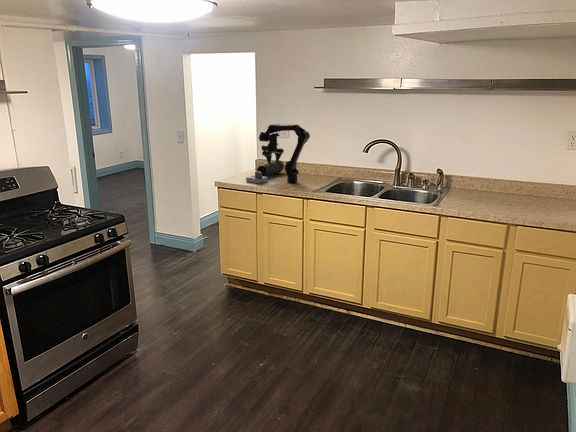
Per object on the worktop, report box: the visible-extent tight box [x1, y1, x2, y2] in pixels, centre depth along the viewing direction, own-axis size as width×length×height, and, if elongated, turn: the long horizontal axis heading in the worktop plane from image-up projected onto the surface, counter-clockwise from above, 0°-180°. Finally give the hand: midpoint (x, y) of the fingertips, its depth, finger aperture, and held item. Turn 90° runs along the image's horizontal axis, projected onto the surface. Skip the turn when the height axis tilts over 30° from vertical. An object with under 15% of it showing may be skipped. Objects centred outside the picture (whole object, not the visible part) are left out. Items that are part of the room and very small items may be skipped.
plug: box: [254, 170, 262, 178], centre depth 342 cm, size 4×3×7 cm, turn 54°
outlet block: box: [245, 174, 269, 185], centre depth 344 cm, size 12×10×4 cm
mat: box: [262, 181, 280, 186], centre depth 340 cm, size 9×9×1 cm
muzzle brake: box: [256, 159, 285, 177], centre depth 369 cm, size 10×28×10 cm, turn 152°
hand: (273, 163), depth 346 cm, fingers open, 9 cm apart
